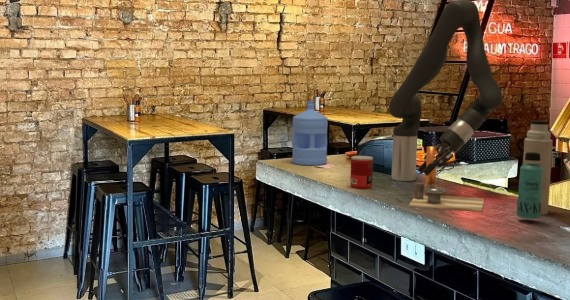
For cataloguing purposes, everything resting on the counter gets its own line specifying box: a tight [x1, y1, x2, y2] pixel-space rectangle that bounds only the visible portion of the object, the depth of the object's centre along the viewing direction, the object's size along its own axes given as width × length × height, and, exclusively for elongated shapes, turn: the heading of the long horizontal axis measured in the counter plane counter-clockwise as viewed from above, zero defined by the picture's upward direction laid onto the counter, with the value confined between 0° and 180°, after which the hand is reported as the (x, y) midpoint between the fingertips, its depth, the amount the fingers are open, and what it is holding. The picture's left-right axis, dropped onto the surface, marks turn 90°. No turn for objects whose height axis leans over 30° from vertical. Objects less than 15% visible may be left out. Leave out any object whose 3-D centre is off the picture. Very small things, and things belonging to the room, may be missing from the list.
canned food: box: [349, 155, 374, 190], centre depth 235 cm, size 8×8×11 cm
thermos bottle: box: [522, 120, 553, 216], centre depth 196 cm, size 8×8×28 cm
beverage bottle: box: [516, 152, 544, 220], centre depth 184 cm, size 6×7×20 cm
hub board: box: [408, 182, 485, 213], centre depth 209 cm, size 18×22×6 cm
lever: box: [424, 145, 445, 195], centre depth 212 cm, size 17×6×16 cm, turn 174°
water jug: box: [291, 100, 329, 167], centre depth 290 cm, size 16×16×28 cm
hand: (422, 172), depth 218 cm, fingers closed on lever, 3 cm apart
